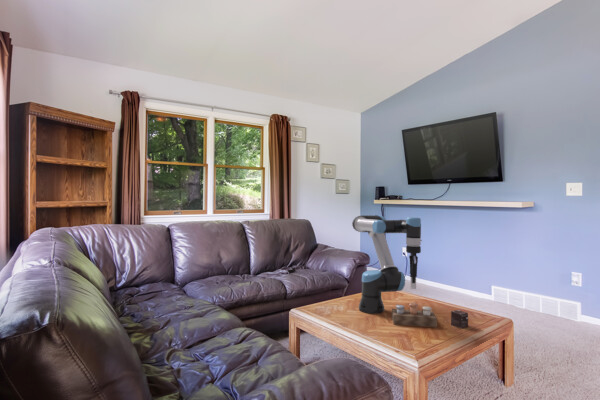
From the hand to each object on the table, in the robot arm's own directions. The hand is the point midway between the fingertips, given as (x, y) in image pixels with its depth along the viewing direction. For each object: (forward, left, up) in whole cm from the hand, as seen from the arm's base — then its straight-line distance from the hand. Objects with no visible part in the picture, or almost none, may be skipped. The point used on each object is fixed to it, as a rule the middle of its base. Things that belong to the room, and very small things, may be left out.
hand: (413, 288), depth 182 cm
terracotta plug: (0, 0, -16) cm, 16 cm away
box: (+23, -1, -19) cm, 30 cm away
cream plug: (+7, 0, -18) cm, 19 cm away
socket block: (0, 0, -18) cm, 18 cm away
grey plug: (-7, 0, -18) cm, 19 cm away
